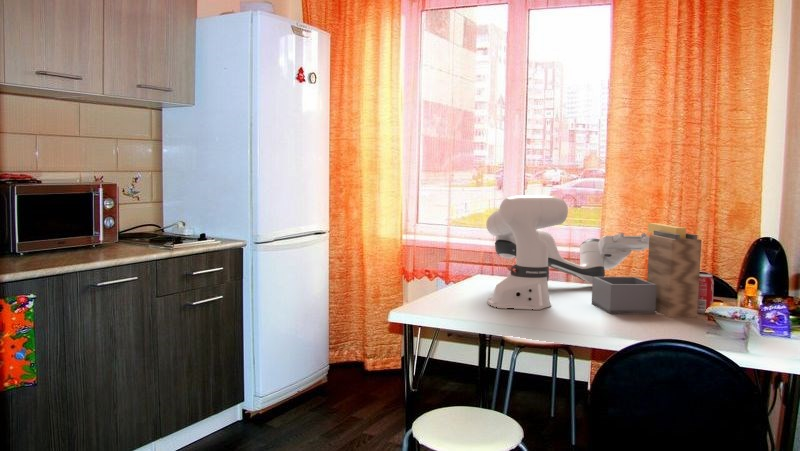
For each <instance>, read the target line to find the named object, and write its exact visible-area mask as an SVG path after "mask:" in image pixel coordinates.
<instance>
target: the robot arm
mask: <svg viewBox="0 0 800 451" xmlns="http://www.w3.org/2000/svg"><path fill="white" fill-rule="evenodd" d="M568 215H569V210H568V205H567V202H566V201H565V200H564V198H562V197H557V196H552V195H514V196H510V197H505V198H504V199H503V200H502V202H501V203H500V206H499V208H498V209H497V210H495V211H494V212H493V213H491V214H490V215H489V216H488V218H487V219H486V229H487V232H489V233H490V234H491V235H492V236H494V237H495V242H494V248H495V249H494V250H495V252H496V254H497V256H499V257H501V258H503V259H509V260H511V259H515V262H516V263H515V264H513V265H512V264H508V265H507V266H506V269H507V270H508V271H509V272H510V275H508V276H507V277H506V278H504V279H503V280H501V281H500V282H499V283H497V284H496V286H495V287H494V291H493V297H488V298H487V300H486V303H487V305H489V306H490V305H491V307H492V306H494V307H493V308H496V307H497V308H496V309H507V308H514V309H513V310H532V309H533V310H534V311H535V310H537V311H540V310H543V309H546V308H549V307H551V306H552V303H551V299H550V295H549V294H550V293H549V285H548V284H549V283H548V282H549V279H550V268H551V269H554V270H556V271H559V272H562V273H565V274H568V275H571V276H573V277H576V278H578V279H580V280H582V281H583V282H585V283H591V284H593V277H606V271H609V270H613V269H614V268H616V267H617V266H619V265H620V264H621V263H622V262H623V261H624V260H625V259H626V258H628V256H630V254H632V251H634V252H635V251H636V252H637V251H645V250H647V249H649V235H648V232H642V233H641V235H624V232H619V233H618V234H614V235H603V236H602V237H600V238H588V239H586V240H584V241H583V242H582V243H581V244H580V245H579V264H578V263H574V262H573V261H570V260H567V259H565V258H564V257H562V255H561V254H560V251H559V250H558V246H557V244H556V241H555V239H554V237H553V236H552V234H551V233H550V232H549V231H547V230H544V229H545V228H549V227H554V226H558V225H559V226H560V225H562V224H564V222H565V221H566V220H567V217H568Z"/></svg>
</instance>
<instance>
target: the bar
mask: <svg viewBox="0 0 800 451" xmlns="http://www.w3.org/2000/svg"><path fill="white" fill-rule="evenodd" d="M654 231H662V232H667V233H673V234H678V235H680V238H686V233H687V228H686V227H682V226H676V225H669V224H665V223H658V222H648V223H647V234H648V233H649V234H651V235H654Z"/></svg>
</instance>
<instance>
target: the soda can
mask: <svg viewBox="0 0 800 451" xmlns="http://www.w3.org/2000/svg"><path fill="white" fill-rule="evenodd" d="M714 281H715V280H714V278H713V275H712V274H710V273H700V274H699V291H698V308H697V314H705V311H706V309H707V308H708V307H709V306H710V305H711V304H712V303H713V304H714V289H715V288H714V287H715V286H714V285H715V282H714ZM705 315H706V314H705Z"/></svg>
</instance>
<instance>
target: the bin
mask: <svg viewBox="0 0 800 451" xmlns="http://www.w3.org/2000/svg"><path fill="white" fill-rule="evenodd" d="M591 284H592V286H591V287H592V289H591V305H593V306H595V307H596V308H599V309H600V310H602V311H603V312H605V313H607V314H610V315H624V314H625V315H641V314H642V315H644V314H645V315H649V314H650V315H651V314H652V315H653V314H654V315H656V311H655V309H656V290H657V285H656V284H653V283H651V282H648V281H647V280H645V279H642V278H640V277H637V276H604V277H593V283H591Z"/></svg>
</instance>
